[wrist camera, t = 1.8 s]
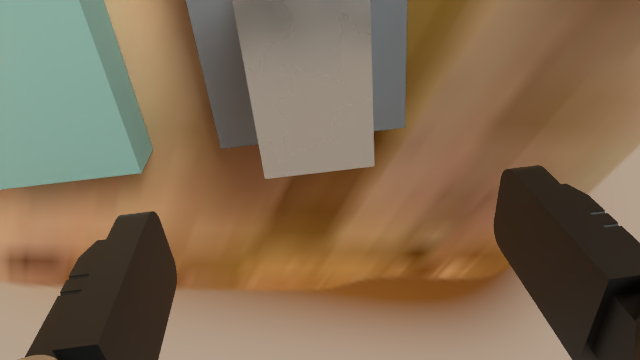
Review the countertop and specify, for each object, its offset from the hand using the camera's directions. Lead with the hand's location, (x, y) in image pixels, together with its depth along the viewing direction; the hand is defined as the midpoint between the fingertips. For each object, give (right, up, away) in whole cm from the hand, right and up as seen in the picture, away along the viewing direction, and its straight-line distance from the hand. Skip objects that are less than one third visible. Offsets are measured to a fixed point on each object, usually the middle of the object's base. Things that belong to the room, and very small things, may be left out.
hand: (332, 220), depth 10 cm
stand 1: (-17, +7, +16) cm, 24 cm away
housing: (-1, +8, +13) cm, 15 cm away
